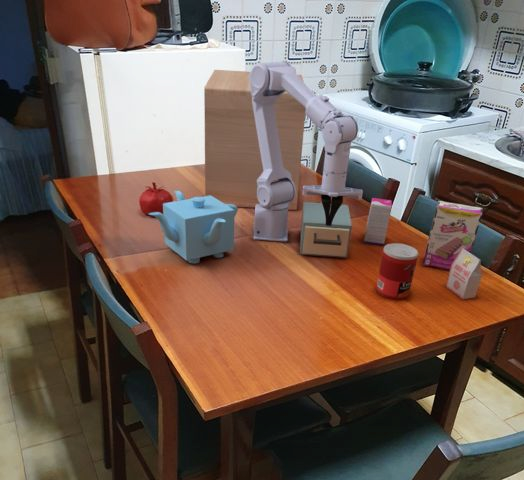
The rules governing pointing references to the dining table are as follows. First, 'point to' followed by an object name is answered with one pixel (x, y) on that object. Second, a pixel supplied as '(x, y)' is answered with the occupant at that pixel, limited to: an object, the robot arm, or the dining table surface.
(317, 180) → the dining table surface
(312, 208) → the cabinet
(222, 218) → the teakettle
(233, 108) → the storage cube
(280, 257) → the dining table surface
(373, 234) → the supplement box
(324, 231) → the drawer
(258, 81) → the robot arm
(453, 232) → the candy bar box
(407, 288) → the canned food
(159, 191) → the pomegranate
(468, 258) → the white box
